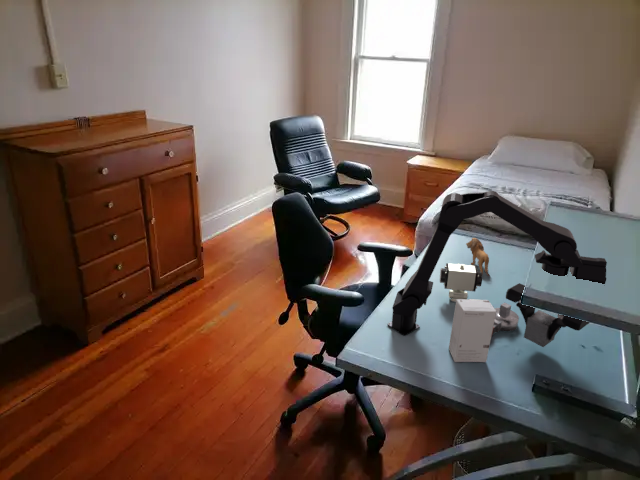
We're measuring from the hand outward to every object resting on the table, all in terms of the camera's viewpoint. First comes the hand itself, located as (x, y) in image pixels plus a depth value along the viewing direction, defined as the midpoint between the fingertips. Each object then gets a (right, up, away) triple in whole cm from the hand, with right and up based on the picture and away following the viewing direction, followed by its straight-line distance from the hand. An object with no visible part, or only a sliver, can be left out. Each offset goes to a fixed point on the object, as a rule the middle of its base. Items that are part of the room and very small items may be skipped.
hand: (539, 334), depth 118 cm
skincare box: (-18, -5, 0) cm, 19 cm away
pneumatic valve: (-13, +6, +25) cm, 29 cm away
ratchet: (-9, -1, +9) cm, 13 cm away
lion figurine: (-1, +14, +45) cm, 47 cm away
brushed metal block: (0, -1, 0) cm, 1 cm away
